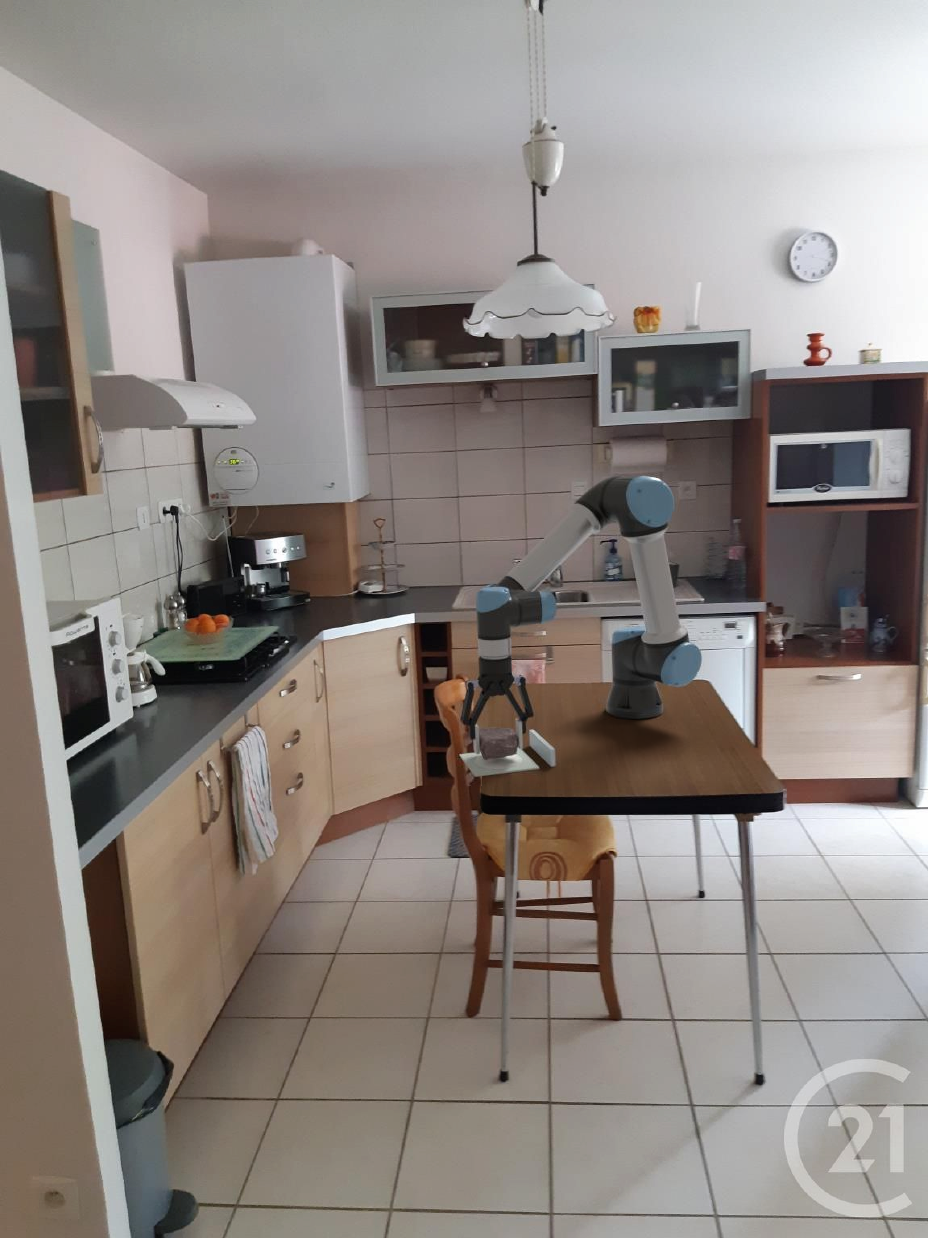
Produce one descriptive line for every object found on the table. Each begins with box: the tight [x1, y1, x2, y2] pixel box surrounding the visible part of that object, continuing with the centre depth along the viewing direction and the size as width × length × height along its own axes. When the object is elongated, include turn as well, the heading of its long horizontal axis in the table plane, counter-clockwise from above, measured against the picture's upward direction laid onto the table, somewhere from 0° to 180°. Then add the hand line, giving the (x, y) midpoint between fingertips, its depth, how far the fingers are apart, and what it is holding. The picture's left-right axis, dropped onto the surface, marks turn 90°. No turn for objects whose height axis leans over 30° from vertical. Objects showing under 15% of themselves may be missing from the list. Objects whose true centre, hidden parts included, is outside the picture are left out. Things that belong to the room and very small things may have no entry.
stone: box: [479, 726, 518, 760], centre depth 214 cm, size 12×9×5 cm
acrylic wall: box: [528, 729, 556, 767], centre depth 218 cm, size 1×16×4 cm, turn 13°
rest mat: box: [459, 747, 540, 778], centre depth 214 cm, size 15×15×1 cm
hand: (498, 749), depth 214 cm, fingers closed on stone, 10 cm apart
